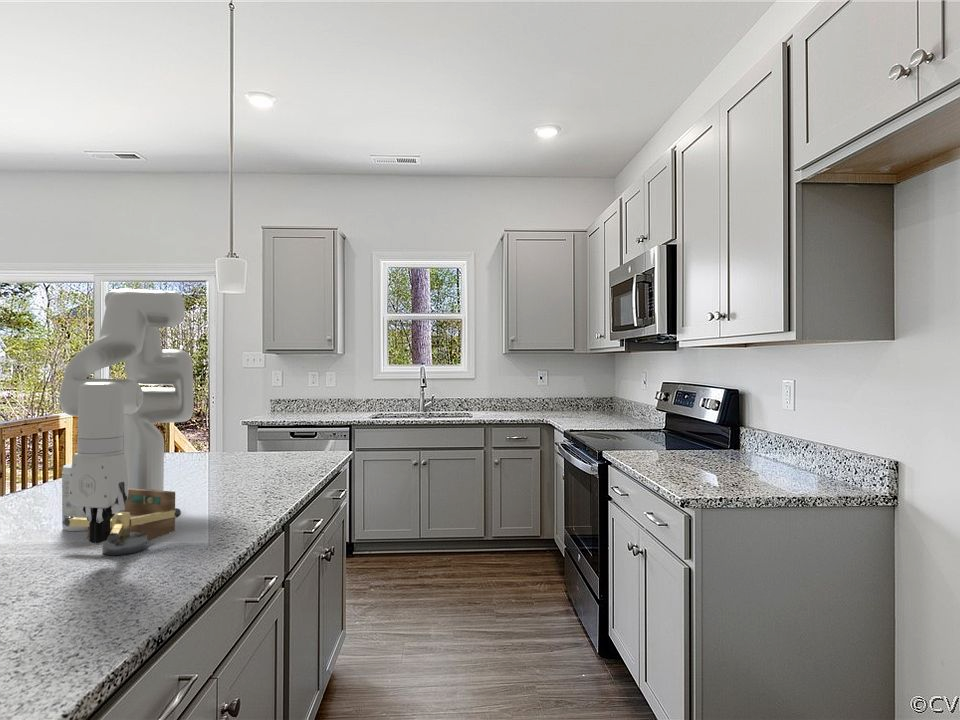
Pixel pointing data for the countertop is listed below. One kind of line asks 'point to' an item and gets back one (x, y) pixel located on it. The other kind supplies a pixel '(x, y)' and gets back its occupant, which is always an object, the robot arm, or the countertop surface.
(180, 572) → the countertop surface
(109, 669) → the countertop surface
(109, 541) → the tan branched rod piece
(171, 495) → the level stand
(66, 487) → the supplement tub
